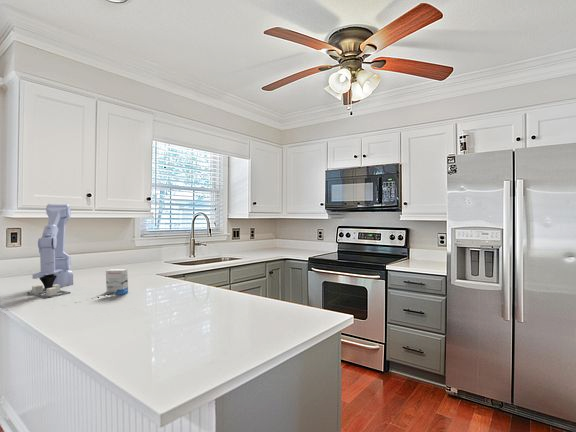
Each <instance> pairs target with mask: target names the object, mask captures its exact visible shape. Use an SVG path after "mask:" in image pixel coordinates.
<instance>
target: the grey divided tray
mask: <svg viewBox="0 0 576 432" xmlns="http://www.w3.org/2000/svg"><path fill="white" fill-rule="evenodd" d="M69 294H71V291H69V290H68V291H67V290H62V289H60V291H59V292H57V294H56V295H52V296H46V290H45V289H43V292H41V293H32V291H29V292H27V295H31V296H36V297H40V298H45V299H49V298H51V299H52V298H54V297H60V296H65V295H69Z"/></svg>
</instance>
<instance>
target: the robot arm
mask: <svg viewBox="0 0 576 432" xmlns="http://www.w3.org/2000/svg"><path fill="white" fill-rule="evenodd" d="M71 211H72V209H71V205H70V204H68V203H59V204H58V203H53V204H52V203H51V204H50V203H47V205H46V208H45V213H46V215H47V217H48V223H47V225H45V226H44V228H43V232H42V234H41V237H40V238H38V240H37V248H38V253H39V259H40V260H39V261H40V262H39V263H40V266H39V267H40V271H39V272H37V273H33V274H31V275H32V276H31V278H32V279H33V280H40V281H41V283H42V284H43V285H42V286H43V288H44V290H46V289H47V288H52V286H53V285H55V284H58V285H60V288H63V287H67V286H72V285H74V273H73V271H72V270H71V267H72V262H71V256H70V255H69V254H68V253H66V252H65V249H66V248H65V247H66V246H65V245H66V224H67V222H68V221H70V220H71Z"/></svg>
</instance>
